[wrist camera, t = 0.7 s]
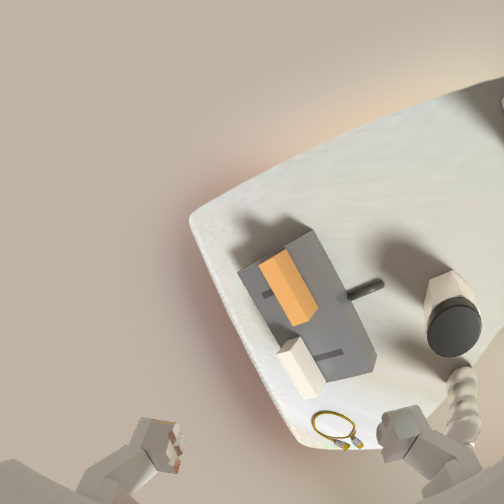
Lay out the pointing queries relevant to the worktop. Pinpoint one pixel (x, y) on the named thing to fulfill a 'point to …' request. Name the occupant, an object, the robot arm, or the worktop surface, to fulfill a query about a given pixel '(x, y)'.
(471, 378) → the plastic bottle
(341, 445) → the extension cord
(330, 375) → the switch box
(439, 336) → the jar
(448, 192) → the worktop surface
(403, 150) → the worktop surface
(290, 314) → the orange switch
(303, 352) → the white switch
